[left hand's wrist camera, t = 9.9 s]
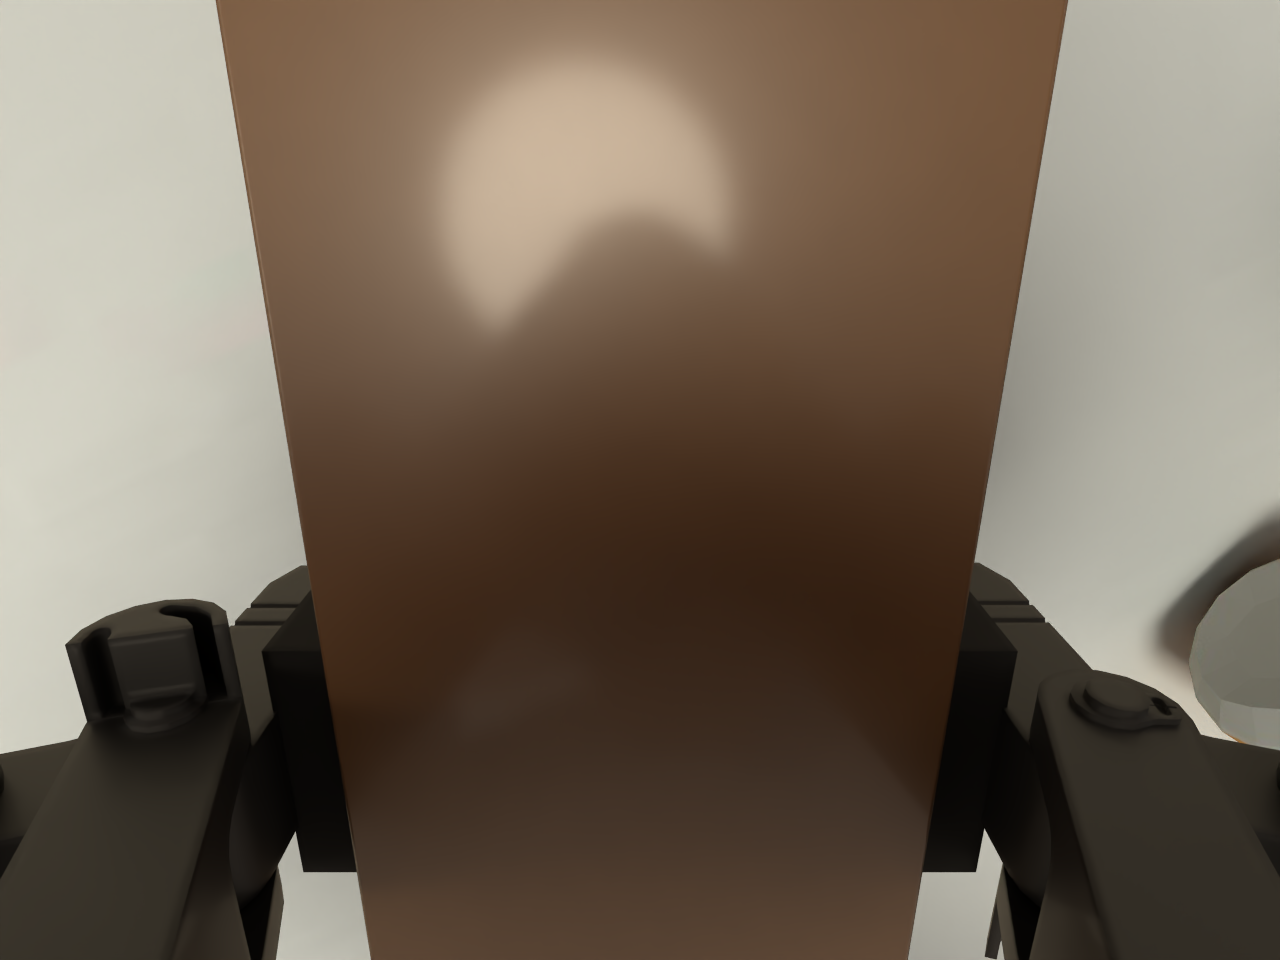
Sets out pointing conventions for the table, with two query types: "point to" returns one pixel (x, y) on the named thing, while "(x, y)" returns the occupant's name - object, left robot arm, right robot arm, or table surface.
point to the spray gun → (1242, 658)
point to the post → (640, 443)
